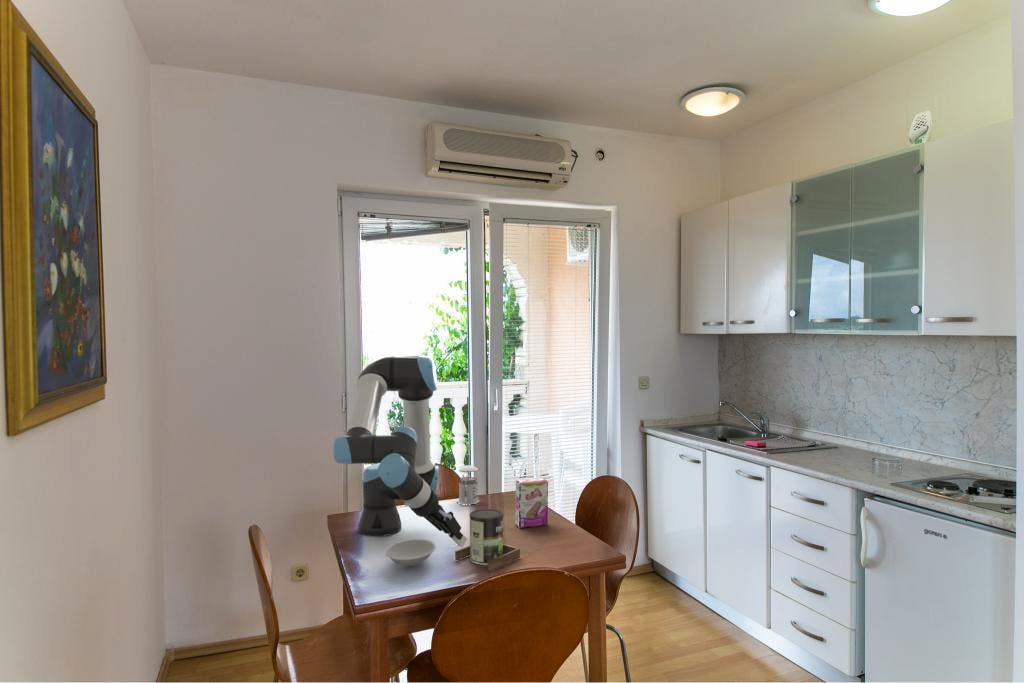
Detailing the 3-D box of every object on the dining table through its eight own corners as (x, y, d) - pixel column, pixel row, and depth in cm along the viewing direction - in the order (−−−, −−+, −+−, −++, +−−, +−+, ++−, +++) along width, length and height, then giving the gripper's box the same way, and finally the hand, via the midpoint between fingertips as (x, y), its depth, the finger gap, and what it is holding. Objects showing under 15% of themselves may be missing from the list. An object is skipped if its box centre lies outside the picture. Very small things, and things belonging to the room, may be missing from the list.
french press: (483, 499, 247) (482, 440, 247) (475, 507, 235) (474, 445, 236) (460, 498, 249) (460, 439, 249) (452, 505, 238) (451, 444, 238)
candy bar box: (519, 529, 208) (519, 483, 208) (515, 524, 213) (514, 479, 213) (548, 525, 211) (548, 480, 211) (543, 521, 216) (543, 477, 216)
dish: (400, 553, 184) (400, 537, 185) (443, 556, 182) (443, 540, 182) (375, 574, 167) (375, 557, 167) (423, 578, 164) (423, 561, 164)
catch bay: (455, 560, 178) (455, 550, 178) (486, 548, 188) (486, 538, 188) (489, 572, 169) (489, 561, 169) (519, 558, 180) (519, 548, 180)
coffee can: (506, 554, 183) (506, 509, 183) (499, 566, 173) (499, 519, 173) (474, 552, 185) (474, 507, 185) (465, 564, 175) (465, 517, 175)
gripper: (396, 505, 159) (441, 549, 172) (429, 514, 151) (473, 559, 164) (411, 482, 163) (453, 526, 176) (444, 489, 155) (485, 535, 168)
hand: (463, 542), depth 170 cm, fingers closed
